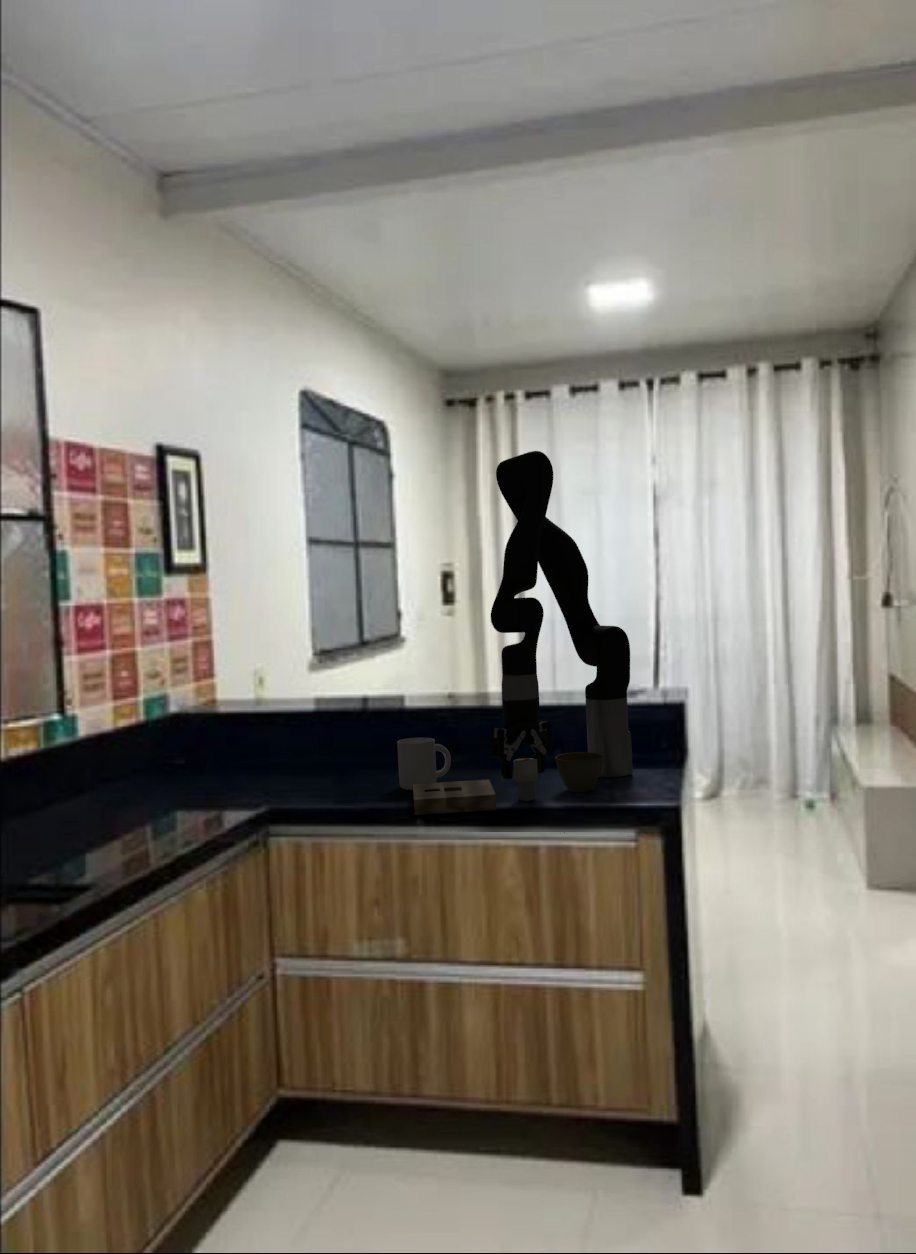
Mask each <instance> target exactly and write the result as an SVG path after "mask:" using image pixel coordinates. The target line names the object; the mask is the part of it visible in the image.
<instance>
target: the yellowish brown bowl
mask: <svg viewBox="0 0 916 1254" xmlns="http://www.w3.org/2000/svg"><path fill="white" fill-rule="evenodd" d="M554 758H555V762H556V767H557V770H558V773H559V774H558V775H560V777H561V780H562V782H563V784H564V786H565V788H567V790H568V791H569V792H572V793H589V792H591V791H593V790H594V789H595V786H596V785H597V783H598V780H599V778H600V777H599V776H600V773H601V769H602V765H603V755H602V754H598V753H591V752H588V751H587V752H585V751H579V752H578V751H577V752H565V753H561V754H558V755H556V756H555V757H554Z"/></svg>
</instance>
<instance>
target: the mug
mask: <svg viewBox="0 0 916 1254" xmlns="http://www.w3.org/2000/svg"><path fill="white" fill-rule="evenodd" d="M396 745H397V764H398V765H397V767H398V779H399V780H398V781H399V787H400V788H401V789H402V790H405V791H406V790H408V791H413V784H424V783H438V782H437V779H438V778H440V777H444V775H446V774H447V773H448V771H450V768H451V764H452V757H451V754H450V752H449V750H448V749H447V748H446V747H445V746H444V745H442V744H440V743H436V739H435V738H432V737H409V738H408V737H407V738H404V739H403V738H402V739H399V740H398V741H396ZM436 752H441V753H442V754H443V757H444V765H443V767H442V769H441V768H440V769H439V770H437V761H436V760H437V758H436V756H437V755H436Z"/></svg>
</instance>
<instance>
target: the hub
mask: <svg viewBox="0 0 916 1254" xmlns="http://www.w3.org/2000/svg"><path fill="white" fill-rule="evenodd" d="M412 792H413V808H414V815H415V816H419V815H423V816H424V815H433V814H434V815H436V814H437V815H438V814H450V813H467V812H481V811H482V812H483V811H484V812H486V811H497V795H496V794H497V793H496V792H495V790H494V788H493V785H492V783H491V781H490V779H478V780H477V779H476V780H473V779H472V780H460V781H459V780H458V781H443V782H437V783H424V784H413V790H412Z"/></svg>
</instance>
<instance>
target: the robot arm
mask: <svg viewBox="0 0 916 1254" xmlns="http://www.w3.org/2000/svg"><path fill="white" fill-rule="evenodd" d="M495 477H496V478H495V479H496V482H497V486H498V488H499V491H500V493H501V495H502V497H503V498H504V500H505V502H506V504H507V506H508V507H509V509H510V511H511V512H512V514H513V515H514V516H513V517H515V519H516V521H517V522H516V524H515V525H514V528H513V529H512V531H511V534H510V535H509V538H508V540H507V542H506V545H505V547H504V548H505V549H504V556H503V567H502V576H501V578H502V579H501V580H500V581H501V582H500V585H499V587H498V591H497V593H496V596H495V599H494V601H493V604H492V606H491V610H490V622H491V625H492V627H493V629H494V630H495V631H496V632H499V633H500V634H501V633H502V634H508V633H509V634H511V633H512V634H514V633H524V636H523V638H522V640H521V641H519V642H516V643H513V644H512V643H511V644H509V645H505V646H504V647H503V648H502V649H501V671H502V678H501V703H502V704H501V706H502V719H503V721H504V726H503V727H504V728H498V727H494V728H492V730H491V757H492V758H494V759H498V760H499V761H500V773H501V777H502V778H503V779H504V780H512V779H513V763H512V760H511V759H512V757H513V756H514V753H515V752H518V751H517V750H518V749H519V748H522V747H526V746H527V747H530V748H531V750H532V751H533V752H534V754H533V759H537V766H538V774H543V773H545V770H546V754H547V752H549V751H552V750H553V748H554V745H553V736H552V735H553V734H552V724H551V721H546V720H539V719H540V717H541V714H540V691H539V690H540V687H539V679H538V668H537V666H538V665H537V663H538V662H537V649H538V644H539V643H538V642H539V637H540V633H541V629H542V624H543V621H544V607H543V604H542V603H541V602H540V600H539V599H537V598H536V597H516V596H517V595H519V594H520V593H523V592H528V591H530V590H532V589H534V588H535V587H536V585H537V582H538V581H537V580H538V566H540V569H541V571H542V573H543V576H544V578H545V580H546V582H547V583H548V585H549V587H550V589H551V592H552V593H553V596H554V597H555V600H556V603H557V605H558V607H559V610H560V612H561V613H562V616H563V618H564V621H565V624H566V626H567V629H568V632H569V636H570V637H571V641H572V644H573V647H574V649H575V652H576V654H577V656H578V657H579V659H580V661H581V662H583V663H584V664H586V665H588V666H590V667H596V674H595V675H596V676H595V678H594V680H593V681H592V682H590V683H588V684H587V685H586V686H585V689H584V690H585V691H584V693H585V695H584V696H585V714H586V716H585V717H586V737H587V752H591V753H598V754H602V755H603V765H602V769H601V773H600V776H599V778H618V777H625V776H630V775H633V773H634V770H633V752H632V751H633V750H632V747H633V746H632V733H631V731H629V710H628V709H629V708H628V707H629V706H628V688H629V685H630V682H631V647H630V640H629V637H628V634H627V633H626V632H625V630H624V629H623V628H621V627H620V626H616V625H601V624H600V623H599V621H598V620H597V618H596V616H595V614H594V612H593V610H592V608H591V605H590V601H589V571H588V566H587V564H586V562H585V559H584V557H583V555H582V553H581V550H580V549H579V546H578V545H577V542H576V541H575V539H574V538H572V537H571V536H570V535H569V533H567V532H566V531H565V530H563V529H562V528H561V527H559V526H558V525H557V524H555V523H554V522H553V521H552V520H550V519H549V518H548V517H547V512H548V508H549V502H550V500H551V494H552V489H553V485H554V468H553V464H552V462H551V460H550V458H549V457H548V456H547V455H546V454H545V453H544V452H542V451H539V450H533V451H528V452H525V453H522V454H519V455H516V456H513V457H509V458H507V459H504V460H502V461H501V462H499V463H498V464H497V466H496V471H495ZM538 720H539V721H538ZM538 734H539V735H538Z"/></svg>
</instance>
